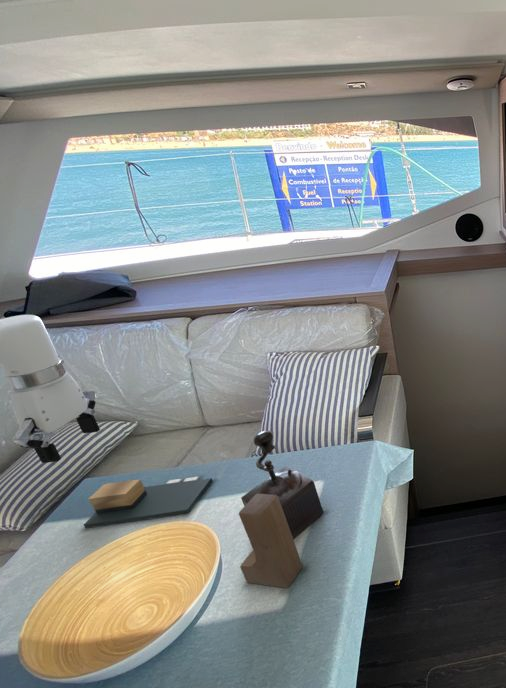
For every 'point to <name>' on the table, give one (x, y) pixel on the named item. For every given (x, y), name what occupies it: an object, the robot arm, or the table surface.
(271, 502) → the wooden block
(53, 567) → the table surface
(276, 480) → the manual coffee grinder
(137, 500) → the eraser
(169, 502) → the slate board
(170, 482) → the chalk mark
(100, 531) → the table surface
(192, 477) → the chalk mark
